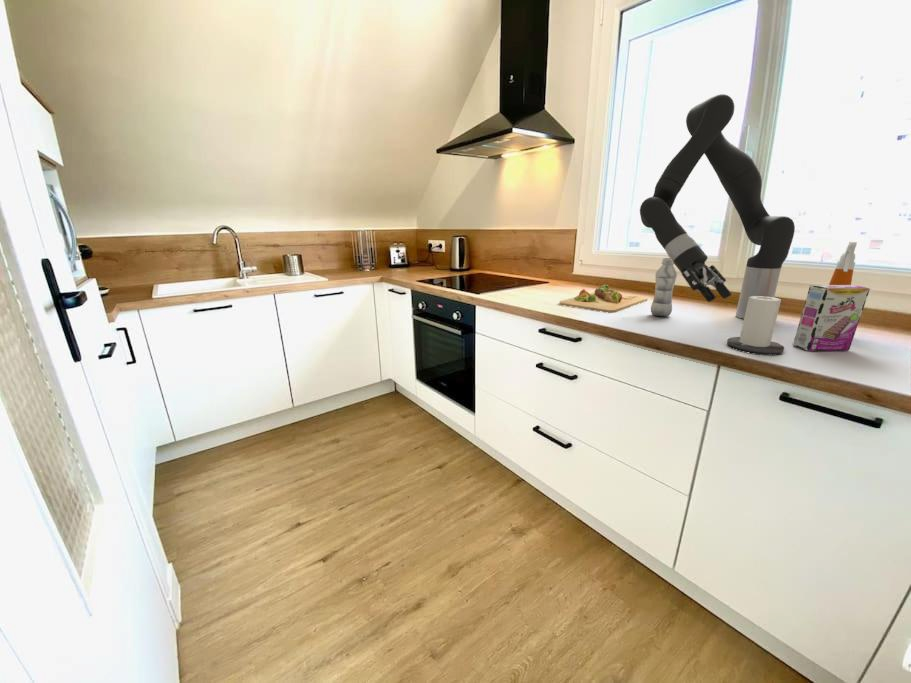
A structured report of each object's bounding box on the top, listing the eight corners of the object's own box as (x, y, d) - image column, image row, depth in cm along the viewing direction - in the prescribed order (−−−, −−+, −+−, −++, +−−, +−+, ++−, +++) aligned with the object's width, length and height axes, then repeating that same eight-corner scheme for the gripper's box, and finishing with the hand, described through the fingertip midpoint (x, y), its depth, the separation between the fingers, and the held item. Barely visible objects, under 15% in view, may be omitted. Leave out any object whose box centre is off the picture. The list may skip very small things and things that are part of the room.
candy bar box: (808, 352, 97) (827, 288, 92) (791, 346, 102) (808, 284, 97) (851, 351, 97) (871, 287, 93) (832, 345, 102) (850, 284, 97)
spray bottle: (809, 336, 110) (835, 242, 102) (810, 328, 118) (834, 240, 110) (843, 341, 106) (873, 242, 98) (842, 333, 113) (869, 241, 105)
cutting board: (612, 315, 140) (614, 294, 138) (556, 306, 156) (557, 287, 154) (648, 301, 163) (651, 283, 161) (596, 294, 179) (598, 278, 177)
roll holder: (738, 338, 109) (745, 306, 106) (791, 349, 99) (800, 315, 96) (717, 345, 103) (724, 312, 100) (771, 358, 93) (780, 321, 90)
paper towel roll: (746, 338, 105) (756, 295, 101) (772, 344, 100) (784, 298, 96) (736, 342, 101) (745, 297, 98) (762, 348, 97) (774, 301, 93)
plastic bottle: (673, 318, 132) (683, 259, 126) (652, 317, 133) (661, 259, 127) (667, 314, 138) (676, 257, 132) (647, 313, 139) (655, 257, 133)
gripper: (682, 245, 105) (720, 293, 99) (709, 243, 112) (745, 287, 106) (661, 263, 111) (695, 309, 105) (687, 260, 118) (720, 303, 112)
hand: (720, 298), depth 106 cm, fingers open, 8 cm apart
